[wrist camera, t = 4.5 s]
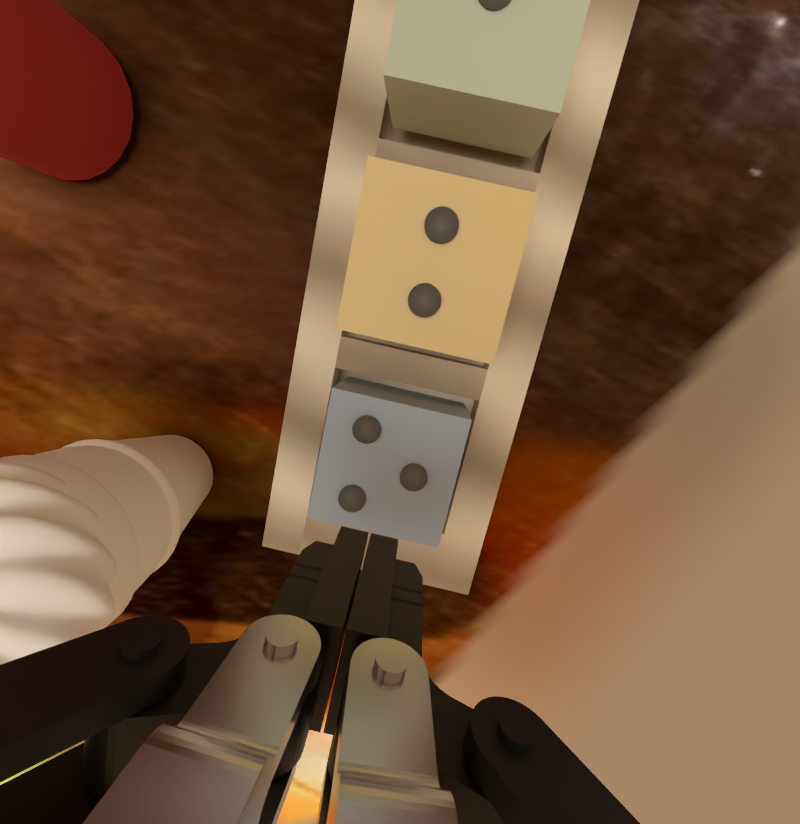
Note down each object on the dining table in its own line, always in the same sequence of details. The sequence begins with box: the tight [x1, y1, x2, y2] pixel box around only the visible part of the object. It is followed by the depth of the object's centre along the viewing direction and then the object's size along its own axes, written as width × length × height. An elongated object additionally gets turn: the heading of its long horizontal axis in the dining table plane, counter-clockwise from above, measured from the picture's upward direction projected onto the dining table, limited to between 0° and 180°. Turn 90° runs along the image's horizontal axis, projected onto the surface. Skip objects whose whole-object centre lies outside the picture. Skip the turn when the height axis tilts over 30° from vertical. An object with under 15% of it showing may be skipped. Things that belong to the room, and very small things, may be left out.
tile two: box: [336, 156, 539, 365], centre depth 17 cm, size 6×6×4 cm
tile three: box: [307, 377, 472, 548], centre depth 21 cm, size 6×6×4 cm
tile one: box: [383, 0, 590, 158], centre depth 16 cm, size 6×6×4 cm
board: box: [262, 0, 639, 595], centre depth 20 cm, size 30×11×2 cm, turn 167°
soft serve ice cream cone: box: [0, 435, 213, 665], centre depth 16 cm, size 8×8×16 cm
